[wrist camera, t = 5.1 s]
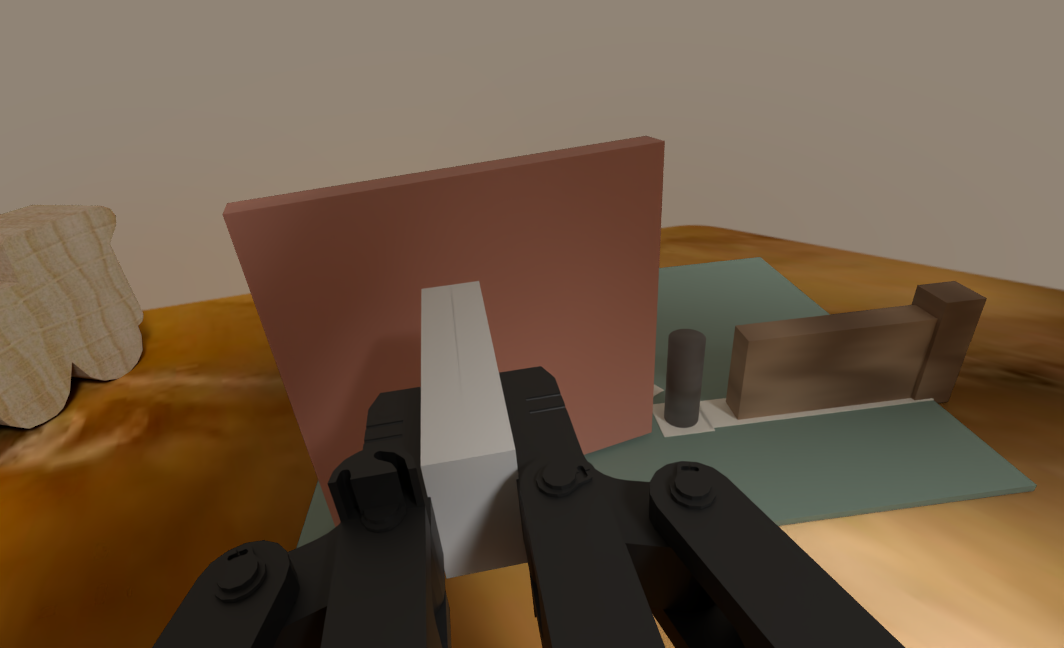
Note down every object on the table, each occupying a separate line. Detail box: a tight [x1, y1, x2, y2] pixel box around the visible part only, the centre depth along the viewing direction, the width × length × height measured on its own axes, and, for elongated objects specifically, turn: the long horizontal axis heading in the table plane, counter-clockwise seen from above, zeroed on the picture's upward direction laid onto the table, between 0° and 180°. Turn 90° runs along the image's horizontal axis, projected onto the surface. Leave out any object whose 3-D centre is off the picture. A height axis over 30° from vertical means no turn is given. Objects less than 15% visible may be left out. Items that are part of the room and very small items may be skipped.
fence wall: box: [664, 281, 987, 428], centre depth 26 cm, size 14×2×6 cm, turn 96°
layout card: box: [297, 257, 1037, 572], centre depth 31 cm, size 29×24×1 cm
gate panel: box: [223, 136, 665, 527], centre depth 21 cm, size 14×1×13 cm, turn 111°
